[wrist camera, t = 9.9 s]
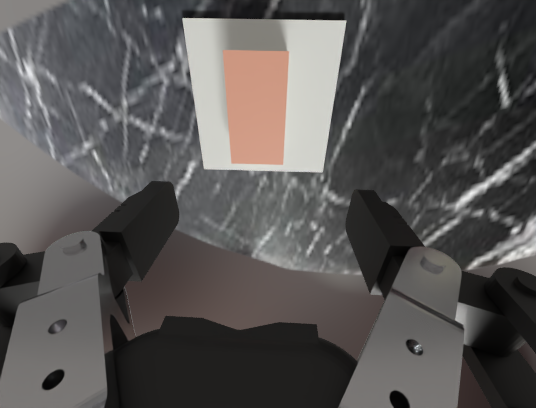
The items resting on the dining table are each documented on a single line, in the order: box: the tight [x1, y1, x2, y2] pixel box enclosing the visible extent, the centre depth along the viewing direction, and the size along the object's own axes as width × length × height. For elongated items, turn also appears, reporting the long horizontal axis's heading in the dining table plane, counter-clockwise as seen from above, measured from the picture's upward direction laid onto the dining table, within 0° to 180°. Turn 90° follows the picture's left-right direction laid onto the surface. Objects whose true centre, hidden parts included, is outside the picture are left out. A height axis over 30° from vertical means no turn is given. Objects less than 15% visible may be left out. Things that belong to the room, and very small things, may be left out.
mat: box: [182, 18, 346, 172], centre depth 25 cm, size 15×15×1 cm
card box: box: [223, 50, 289, 165], centre depth 23 cm, size 10×6×4 cm, turn 179°
